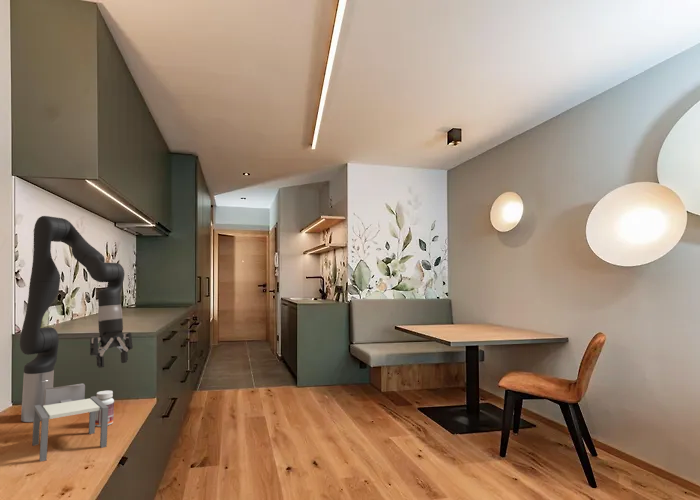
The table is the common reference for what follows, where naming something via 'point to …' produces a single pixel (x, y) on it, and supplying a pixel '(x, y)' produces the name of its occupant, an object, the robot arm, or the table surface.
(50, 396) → the trapdoor
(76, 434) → the table surface
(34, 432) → the stand
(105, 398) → the pill bottle
